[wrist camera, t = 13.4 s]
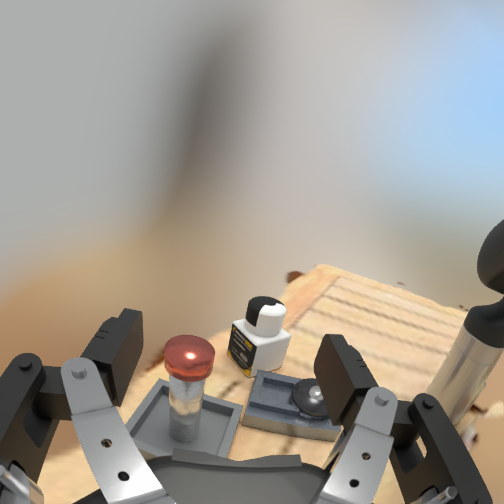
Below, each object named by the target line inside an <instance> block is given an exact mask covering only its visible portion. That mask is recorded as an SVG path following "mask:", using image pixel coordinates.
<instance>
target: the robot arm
mask: <svg viewBox="0 0 504 504" xmlns="http://www.w3.org/2000/svg"><path fill="white" fill-rule="evenodd" d="M477 272H478V276H479V278H480V280H481V282H482V283H483V284H484V285H485V286H487V287H488V288H490V289H493V290H495V291H497V292H499V293H501V294H504V220H502V221H501V222H500V223H499V224H498V225H497V226H495V227H494V228H493V230H492V231H491V232H490V233H489V235H488V236H487V237H486V239H485V241H484V243H483V245H482V247H481V250H480V252H479V256H478V261H477ZM142 349H143V318H142V312H141V311H137V310H132V309H127V308H125V309H124V310H123V311H122V313H121V314H120V316H119V317H118V318H115V317H111V318H110V319H108V320H106V321H105V322H104V323H103V324H102V325H101V327H100V328H99V331H97V333H96V334H95V336H94V337H93V338H92V340H91V341H90V343H89V344H88V346H87V347H86V349H85V350H84V352H83V353H82V355H81V356H80V357H77V358H72V359H69V360H68V361H66V362H65V363H64V364H63V365H62V367H52V366H43V365H42V362H41V360H40V358H39V357H38V356H36V355H35V354H32V353H23V354H20V355H18V356H17V357H15V358H14V359H13V360H12V362H11V363H10V364H9V366H8V367H7V369H6V370H5V371H4V373H3V374H2V376H1V377H0V504H44V496H43V493H42V491H41V489H40V488H39V486H38V485H37V481H38V478H39V475H40V472H41V469H42V466H43V463H44V460H45V457H46V454H47V452H48V449H49V446H50V443H51V441H52V438H53V436H54V433H55V431H56V428H57V426H58V423H59V421H60V420H69V421H73V424H74V427H75V430H76V433H77V436H78V438H79V441H80V444H81V446H82V449H83V451H84V454H85V456H86V459H87V461H88V463H89V466H90V468H91V470H92V472H93V475H94V477H95V479H96V481H97V483H98V485H99V487H100V489H98V490H96V491H94V492H93V493H91V494H89V495H87V496H86V497H84V498H82V499H80V500H78V501H76V502H75V503H73V504H373V503H372V501H373V499H374V496H375V494H376V491H377V489H378V486H379V484H380V481H381V478H382V475H383V473H384V470H385V467H386V464H387V461H388V458H389V459H390V461H391V464H392V467H393V470H394V472H395V475H396V478H397V481H398V484H399V487H400V490H401V492H402V495H403V498H404V501H405V504H493V502H492V498H491V496H490V493H489V491H488V490H487V487H486V485H485V483H484V481H483V479H482V477H481V475H480V473H479V471H478V469H477V467H476V465H475V463H474V461H473V459H472V458H471V456H470V454H469V452H468V450H467V448H466V447H465V445H464V443H463V441H462V440H461V438H460V436H459V434H458V433H457V431H456V429H455V427H454V426H453V425H454V424H458V423H459V422H460V420H461V419H462V418H463V417H464V415H465V414H466V413H467V411H468V410H469V409H470V407H471V406H472V405H473V403H474V402H475V401H476V399H477V398H478V396H479V395H480V393H481V392H482V390H483V389H484V387H485V385H486V380H487V378H488V377H489V375H490V373H491V372H492V370H493V368H494V367H495V365H496V363H497V362H498V360H499V358H500V356H501V354H502V352H503V351H504V297H503V298H502V299H501V300H500V301H499V302H497V303H494V304H491V305H484V306H475V307H473V308H471V309H470V311H469V312H468V314H467V317H466V319H465V321H464V323H463V325H462V327H461V330H460V332H459V334H458V336H457V338H456V340H455V342H454V344H453V346H452V348H451V350H450V352H449V353H448V355H447V357H446V359H445V361H444V363H443V364H442V366H441V368H440V369H439V371H438V373H437V375H436V376H435V378H434V379H433V381H432V383H431V384H430V386H429V387H428V389H427V391H426V392H425V393H421V394H418V395H417V396H416V397H415V398H414V400H413V401H412V402H409V401H401V400H397V397H396V396H395V394H394V393H393V392H391V391H390V390H388V389H386V388H383V387H379V386H378V384H377V383H376V381H375V379H374V377H373V375H372V374H371V372H370V370H369V369H368V367H367V365H366V363H365V362H364V361H363V358H362V357H361V355H360V353H359V352H358V351H357V350H356V349H355V348H354V347H352V346H351V345H348V344H347V342H346V340H345V338H344V337H343V335H339V334H325V336H324V337H323V340H322V342H321V345H320V348H319V350H318V353H317V356H316V358H315V362H314V373H315V376H316V379H317V382H318V385H319V387H320V390H321V393H322V396H323V399H324V402H325V405H326V408H327V411H328V413H329V416H330V419H331V422H332V425H333V426H340V425H343V427H344V430H343V431H342V433H341V434H340V436H339V438H338V440H337V442H336V444H335V446H334V448H333V449H332V451H331V453H330V455H329V457H328V458H327V460H326V462H325V463H324V465H323V466H322V468H320V467H317V466H314V465H311V464H307V463H303V462H301V458H300V454H299V455H270V456H265V457H261V458H256V459H250V460H245V461H234V460H231V459H227V458H223V457H220V456H216V455H213V454H210V453H207V452H200V451H192V450H185V449H179V448H173V454H172V455H167V456H159V457H155V458H151V459H148V460H146V461H145V460H144V458H143V457H142V455H141V453H140V452H139V450H138V448H137V447H136V445H135V443H134V441H133V440H132V438H131V436H130V434H129V432H128V430H127V429H126V427H125V425H124V423H123V421H122V419H121V417H120V415H119V413H118V411H117V409H116V407H115V406H118V407H120V406H121V404H122V401H123V398H124V396H125V393H126V391H127V388H128V385H129V383H130V380H131V378H132V375H133V373H134V370H135V368H136V365H137V363H138V361H139V358H140V356H141V353H142ZM114 405H115V406H114ZM420 436H421V438H422V441H423V443H424V445H425V447H426V450H427V453H426V457H425V458H424V457H423V455H422V452H421V450H420V448H419V446H418V444H417V442H416V440H417V439H418V438H419V437H420Z"/></svg>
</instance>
